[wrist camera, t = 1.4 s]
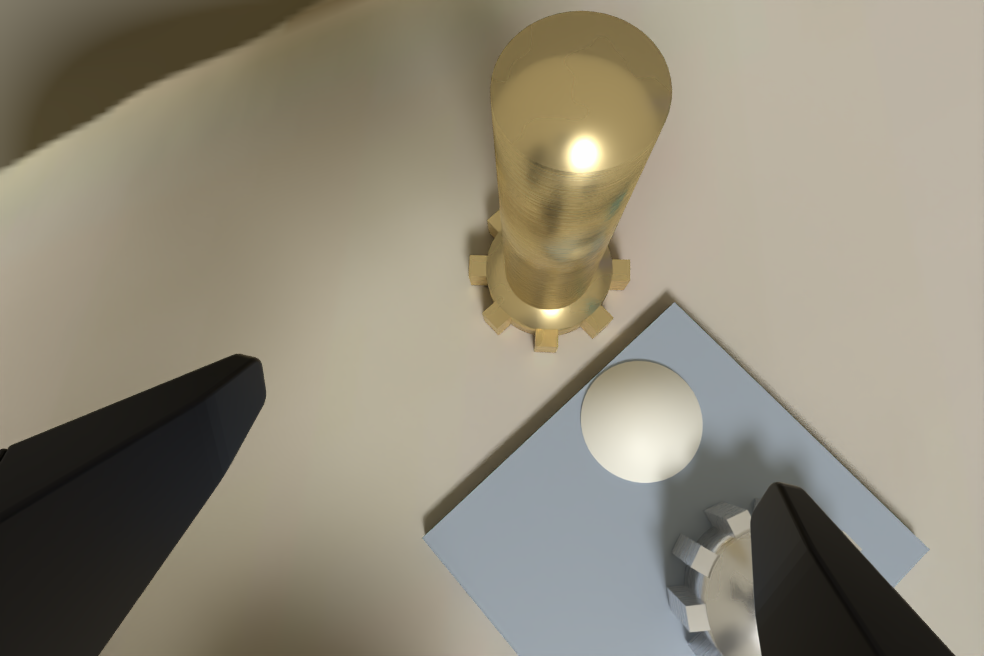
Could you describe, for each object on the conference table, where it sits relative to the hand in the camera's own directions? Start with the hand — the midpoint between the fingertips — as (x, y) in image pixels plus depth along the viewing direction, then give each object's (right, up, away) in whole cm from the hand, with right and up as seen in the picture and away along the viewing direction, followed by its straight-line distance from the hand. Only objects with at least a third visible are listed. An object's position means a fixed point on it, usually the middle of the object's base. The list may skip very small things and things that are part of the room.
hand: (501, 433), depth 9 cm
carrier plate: (+7, -7, +12) cm, 15 cm away
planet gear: (+2, +4, +14) cm, 15 cm away
